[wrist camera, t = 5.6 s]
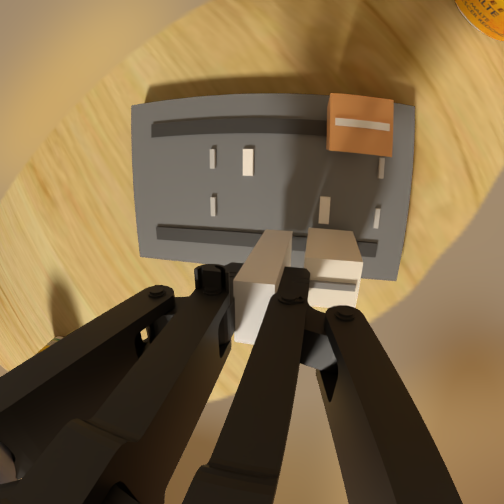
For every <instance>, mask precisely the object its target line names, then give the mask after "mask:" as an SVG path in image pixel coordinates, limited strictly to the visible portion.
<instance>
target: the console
mask: <svg viewBox="0 0 504 504" xmlns="http://www.w3.org/2000/svg"><path fill="white" fill-rule="evenodd" d="M329 97H330V95H314V94H284V93H260V94H230V95H213V96H201V97H190V98H181V99H172V100H164V101H157V102H150V103H144V104H138V105H132V106H131V134H132V167H133V186H134V200H135V212H136V223H137V233H138V242H139V251H140V257H146V258H155V259H164V260H173V261H183V262H192V263H202V264H220V265H224V266H225V265H227V264H229V263H231V262H235V263H245V261H246V259H247V258H248V256H249V255H250V253H251V252H252V250H253V248H254V247H255V245H256V244H257V242H258V241H259V239H260V237H261V236H262V234H263V233H264V231H265V230H266V229H269V230H282V231H293V232H292V250H291V266H290V267H297V268H304V259H305V251H306V244H307V237H308V230H309V228H321V229H333V230H344V231H353V234H354V236H355V239H356V242H357V245H358V248H359V251H360V254H361V257H362V260H363V267H362V274H361V278H364V279H377V280H389V281H396V280H397V275H398V270H399V265H400V260H401V254H402V248H403V243H404V236H405V230H406V223H407V216H408V208H409V200H410V191H411V181H412V169H413V155H414V133H415V106H410V105H404V104H398V103H394V114H393V147H392V157H387V156H379V155H370V154H361V153H351V152H340V151H329V150H327V149H326V141H327V106H328V101H329Z"/></svg>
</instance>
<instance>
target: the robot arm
mask: <svg viewBox="0 0 504 504" xmlns="http://www.w3.org/2000/svg"><path fill="white" fill-rule="evenodd" d="M292 232H293V231H282V230H269V229H266V230H265V231H264V233H263V234H262V236H261V237H260V239H259V241H258V242H257V244H256V245H255V247H254V248H253V250H252V252H251V253H250V255H249V256H248V258H247V259H246V261H245V263H235V262H231V263H229V264H227V265H225V266H224V265H220V264H205V265H201V266H198V267H196V268H195V269H194V274H195V287H196V289H195V290H194V292H193V293H192V294H191V295H190V296H189V297H175V296H174V291H173V289H172V288H170V287H168V286H163V285H155V286H152V287H148V288H146V289H144V290H142V291H141V292H139V293H137V294H135V295H134V296H132V297H130V298H129V299H127V300H125V301H124V302H122V303H120V304H119V305H117V306H115V307H114V308H112V309H110V310H109V311H107V312H105V313H103V314H102V315H100V316H98V317H97V318H95V319H93V320H92V321H90V322H89V323H87V324H85V325H84V326H82V327H80V328H79V329H77V330H75V331H74V332H72V333H70V334H69V335H67V336H65V337H64V338H62V339H61V340H59V341H57V342H56V343H54V344H52V345H51V346H49V347H48V348H46V349H44V350H43V351H41V352H40V353H38V354H36V355H35V356H33V357H32V358H30V359H28V360H27V361H25V362H24V363H22V364H20V365H19V366H17V367H16V368H14V369H12V370H11V371H9V372H8V373H6V374H5V375H3V376H1V377H0V504H164V497H165V490H166V487H167V485H168V483H169V481H170V479H171V477H172V475H173V473H174V470H175V469H176V466H177V464H178V462H179V460H180V458H181V456H182V454H183V451H184V450H185V448H186V446H187V443H188V441H189V439H190V437H191V435H192V433H193V431H194V429H195V426H196V424H197V422H198V420H199V418H200V416H201V413H202V411H203V409H204V407H205V405H206V403H207V401H208V398H209V396H210V394H211V392H212V390H213V388H214V385H215V383H216V381H217V379H218V377H219V374H220V372H221V370H222V368H223V366H224V363H225V361H226V359H227V357H228V355H229V352H230V350H231V337H232V335H233V333H234V339H235V342H240V343H246V344H253V345H254V346H253V348H252V351H251V354H250V357H249V359H248V362H247V365H246V368H245V370H244V373H243V376H242V378H241V381H240V384H239V386H238V389H237V392H236V394H235V397H234V400H233V402H232V405H231V407H230V410H229V413H228V415H227V418H226V420H225V423H224V426H223V428H222V431H221V433H220V436H219V438H218V441H217V443H216V446H215V449H214V451H213V453H212V456H211V458H210V460H209V462H208V463H207V464H206V465H202V466H201V467H200V468H199V469H198V470H197V472H196V474H195V476H194V478H193V480H192V482H191V485H190V487H189V489H188V491H187V493H186V496H185V498H184V500H183V502H182V504H273V502H274V498H275V493H276V489H277V484H278V480H279V475H280V471H281V466H282V461H283V456H284V451H285V446H286V441H287V435H288V430H289V425H290V419H291V414H292V408H293V403H294V396H295V390H296V384H297V378H298V372H299V365H300V363H301V364H304V365H306V366H309V367H313V368H315V369H316V376H317V380H318V384H319V387H320V391H321V395H322V399H323V402H324V406H325V409H326V414H327V417H328V421H329V425H330V429H331V433H332V437H333V441H334V444H335V449H336V453H337V457H338V461H339V465H340V468H341V473H342V477H343V481H344V485H345V489H346V494H347V498H348V502H349V504H463V503H462V501H461V499H460V496H459V494H458V492H457V490H456V487H455V485H454V483H453V481H452V478H451V476H450V474H449V472H448V470H447V467H446V465H445V463H444V461H443V459H442V457H441V455H440V453H439V451H438V449H437V447H436V445H435V443H434V440H433V439H432V437H431V435H430V433H429V431H428V429H427V427H426V425H425V423H424V421H423V419H422V417H421V415H420V413H419V411H418V409H417V407H416V406H415V404H414V402H413V400H412V398H411V396H410V395H409V393H408V391H407V389H406V387H405V385H404V383H403V382H402V380H401V378H400V376H399V375H398V373H397V371H396V369H395V367H394V366H393V364H392V362H391V361H390V359H389V357H388V355H387V353H386V352H385V350H384V348H383V347H382V345H381V343H380V341H379V340H378V338H377V336H376V335H375V333H374V331H373V330H372V328H371V327H370V325H369V323H368V321H367V320H366V318H365V316H364V315H363V314H362V313H361V311H360V310H358V309H356V308H354V307H351V306H347V305H338V306H333V307H331V308H328V310H327V311H326V313H323V312H320V311H317V310H315V309H313V308H312V307H311V306H310V305H309V304H308V292H309V283H310V272H309V271H308V270H307V269H306V268H297V267H290V266H291V250H292ZM145 328H146V331H147V335H148V338H147V339H145V340H142V338H141V333H140V331H142V330H143V329H145ZM21 478H22V479H21ZM18 479H20V480H18Z"/></svg>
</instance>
